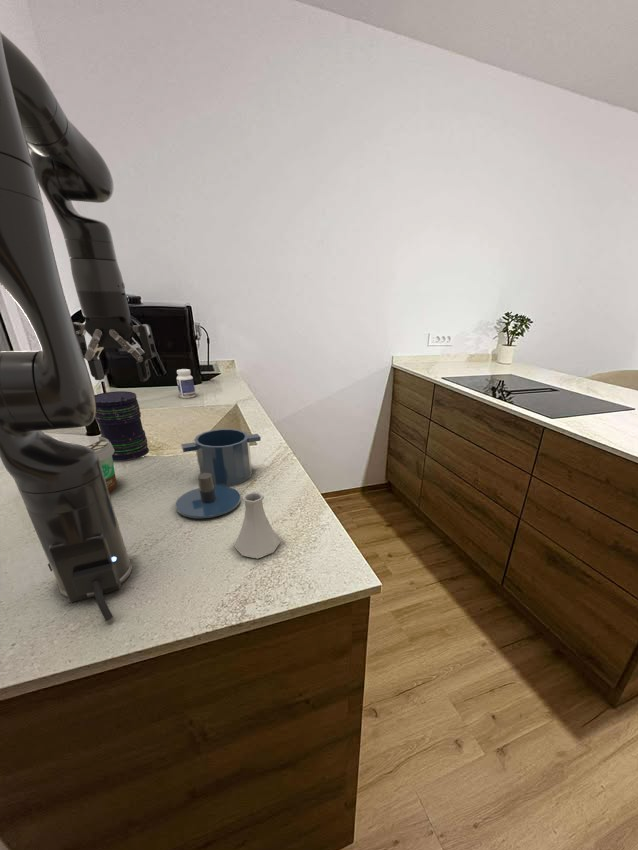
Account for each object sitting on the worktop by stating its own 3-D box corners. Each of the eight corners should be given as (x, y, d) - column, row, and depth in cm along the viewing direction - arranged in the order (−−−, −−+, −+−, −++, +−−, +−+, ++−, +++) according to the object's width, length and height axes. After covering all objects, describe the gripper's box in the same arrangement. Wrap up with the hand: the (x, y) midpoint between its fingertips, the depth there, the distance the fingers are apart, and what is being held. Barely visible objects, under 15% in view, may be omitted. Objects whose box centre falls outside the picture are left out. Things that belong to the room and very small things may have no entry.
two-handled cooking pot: (268, 478, 90) (265, 440, 86) (192, 493, 83) (184, 452, 79) (255, 460, 99) (252, 424, 95) (185, 472, 92) (178, 434, 87)
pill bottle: (198, 395, 150) (194, 369, 146) (189, 399, 145) (185, 372, 141) (185, 393, 151) (181, 368, 147) (176, 397, 146) (171, 370, 142)
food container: (92, 507, 76) (77, 461, 72) (65, 503, 77) (49, 458, 73) (136, 480, 87) (125, 438, 82) (112, 476, 88) (100, 435, 83)
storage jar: (96, 456, 97) (79, 398, 90) (130, 443, 105) (116, 389, 99) (125, 464, 94) (109, 404, 87) (158, 450, 102) (145, 394, 96)
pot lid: (247, 512, 77) (244, 482, 74) (180, 527, 72) (174, 496, 69) (233, 485, 87) (229, 458, 84) (173, 497, 81) (167, 469, 78)
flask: (257, 564, 63) (252, 513, 58) (227, 549, 66) (220, 499, 62) (287, 543, 69) (284, 494, 64) (258, 529, 72) (253, 482, 67)
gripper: (45, 287, 65) (73, 383, 73) (131, 290, 66) (151, 385, 73) (72, 287, 72) (96, 375, 79) (150, 290, 73) (167, 377, 80)
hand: (122, 380), depth 76 cm, fingers open, 8 cm apart
